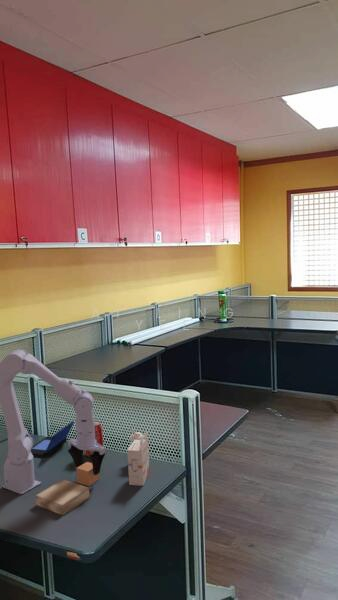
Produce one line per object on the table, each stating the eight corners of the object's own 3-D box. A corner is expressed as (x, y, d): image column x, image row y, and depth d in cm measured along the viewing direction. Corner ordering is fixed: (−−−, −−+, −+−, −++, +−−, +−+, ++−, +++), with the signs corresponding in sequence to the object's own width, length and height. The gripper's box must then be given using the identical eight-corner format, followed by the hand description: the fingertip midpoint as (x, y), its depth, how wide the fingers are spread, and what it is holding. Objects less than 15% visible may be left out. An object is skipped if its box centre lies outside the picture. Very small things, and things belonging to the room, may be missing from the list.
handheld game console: (47, 439, 186) (45, 417, 185) (76, 442, 182) (75, 419, 181) (23, 456, 171) (22, 432, 170) (55, 459, 167) (53, 435, 166)
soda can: (94, 449, 174) (92, 418, 173) (107, 453, 170) (106, 421, 169) (80, 455, 169) (78, 424, 167) (94, 460, 164) (92, 428, 163)
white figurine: (128, 460, 164) (126, 427, 163) (137, 456, 166) (136, 424, 165) (141, 468, 156) (140, 435, 155) (151, 465, 159) (149, 432, 158)
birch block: (36, 506, 136) (35, 495, 136) (63, 489, 145) (63, 479, 145) (63, 516, 130) (62, 505, 130) (89, 498, 139) (89, 487, 139)
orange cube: (77, 482, 149) (76, 467, 148) (88, 476, 153) (87, 461, 152) (88, 486, 146) (88, 471, 146) (99, 479, 150) (98, 465, 150)
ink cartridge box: (135, 472, 154) (133, 430, 153) (149, 473, 153) (148, 431, 152) (128, 485, 146) (126, 440, 144) (143, 486, 145) (141, 441, 143)
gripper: (110, 430, 147) (113, 470, 148) (78, 422, 155) (80, 461, 156) (96, 438, 141) (98, 480, 143) (62, 429, 149) (65, 469, 151)
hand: (88, 471), depth 149 cm, fingers open, 7 cm apart
